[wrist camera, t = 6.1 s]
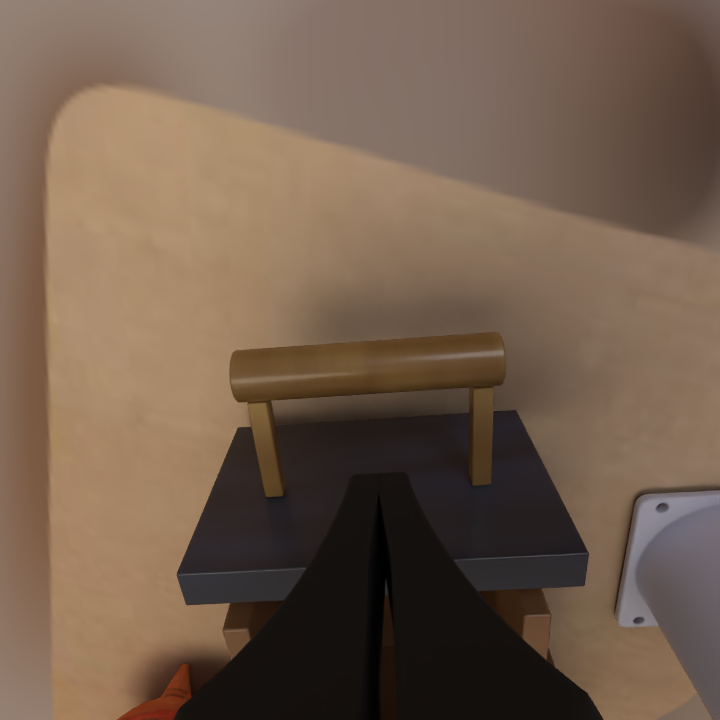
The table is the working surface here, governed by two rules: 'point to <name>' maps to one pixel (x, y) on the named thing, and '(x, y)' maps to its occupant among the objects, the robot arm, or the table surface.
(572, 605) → the table surface
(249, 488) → the drawer
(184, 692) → the pot
